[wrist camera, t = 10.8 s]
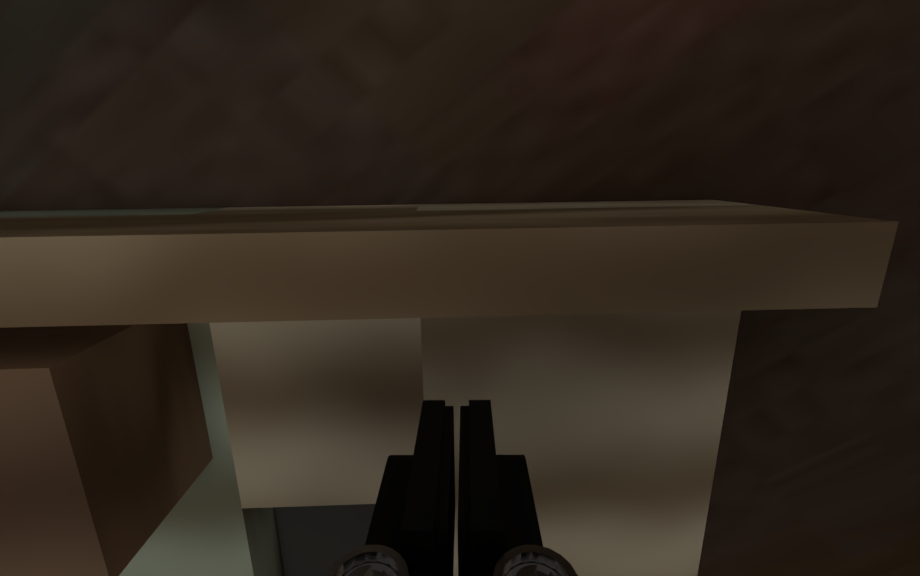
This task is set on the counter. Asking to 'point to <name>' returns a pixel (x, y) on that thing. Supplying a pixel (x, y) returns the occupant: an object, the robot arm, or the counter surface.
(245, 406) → the channel deck
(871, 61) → the counter surface
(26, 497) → the walnut block
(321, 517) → the trap pit mat
